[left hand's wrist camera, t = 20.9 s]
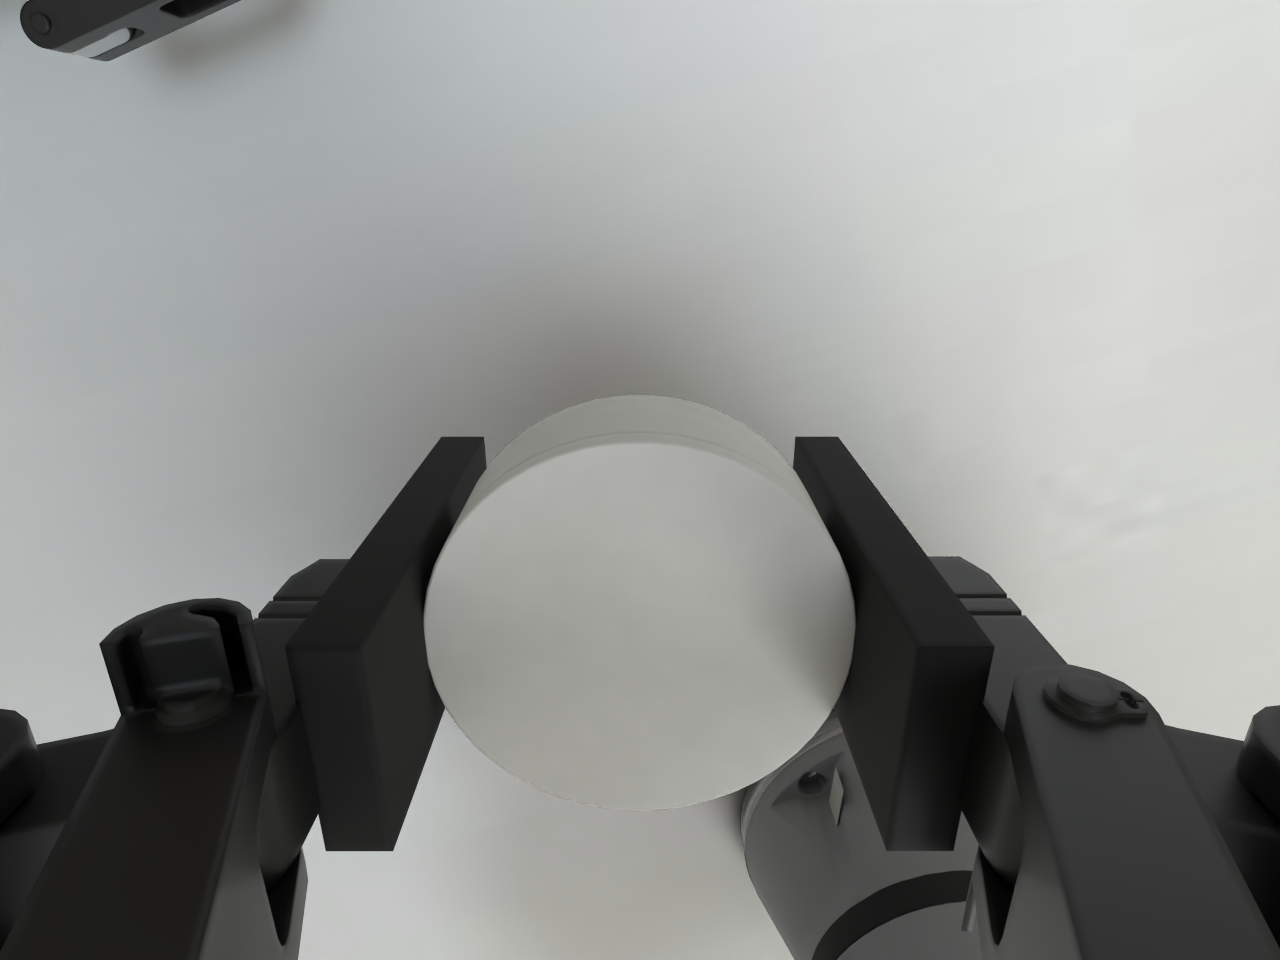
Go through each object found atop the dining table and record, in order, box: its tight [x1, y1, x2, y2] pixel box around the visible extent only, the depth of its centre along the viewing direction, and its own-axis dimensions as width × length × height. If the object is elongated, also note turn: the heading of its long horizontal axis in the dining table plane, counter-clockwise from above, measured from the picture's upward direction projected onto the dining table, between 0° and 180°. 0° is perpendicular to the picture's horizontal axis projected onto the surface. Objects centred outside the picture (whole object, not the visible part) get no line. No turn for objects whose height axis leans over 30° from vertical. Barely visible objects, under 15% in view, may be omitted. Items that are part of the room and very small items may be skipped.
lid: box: [423, 394, 856, 811], centre depth 11 cm, size 6×6×2 cm
